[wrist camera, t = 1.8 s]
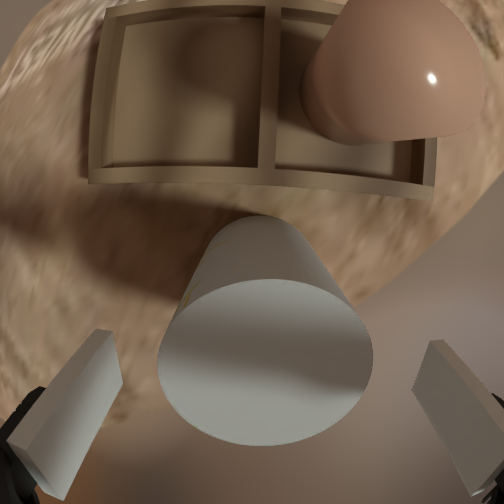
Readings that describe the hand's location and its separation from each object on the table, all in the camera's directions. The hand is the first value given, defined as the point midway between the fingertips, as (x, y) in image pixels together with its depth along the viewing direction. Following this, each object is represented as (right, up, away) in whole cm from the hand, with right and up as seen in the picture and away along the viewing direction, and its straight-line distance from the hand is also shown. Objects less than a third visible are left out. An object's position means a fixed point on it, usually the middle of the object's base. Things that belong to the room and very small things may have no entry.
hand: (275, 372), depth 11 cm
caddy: (0, +16, +7) cm, 17 cm away
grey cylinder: (0, +3, +11) cm, 12 cm away
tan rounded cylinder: (+6, +15, +7) cm, 18 cm away
